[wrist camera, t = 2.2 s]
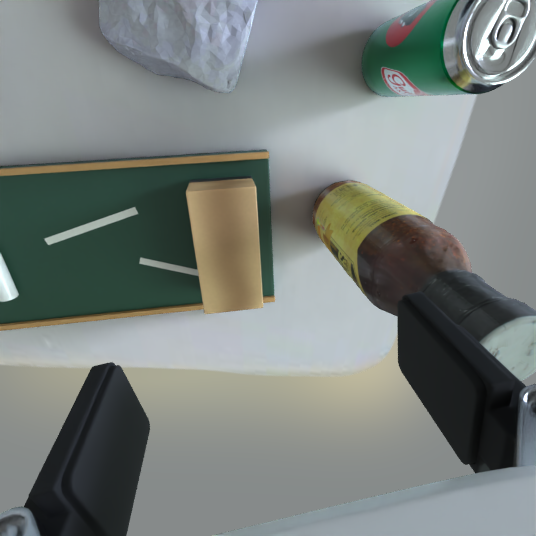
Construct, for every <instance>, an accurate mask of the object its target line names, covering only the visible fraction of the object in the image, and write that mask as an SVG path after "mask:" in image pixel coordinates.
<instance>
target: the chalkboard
mask: <svg viewBox="0 0 536 536" xmlns="http://www.w3.org/2000/svg"><path fill="white" fill-rule="evenodd" d="M238 176H251V177H252V179H253V181H254V184H255V186H256V193H257V210H258V226H259V243H260V260H261V276H262V293H263V303H267V302H275V296H274V278H273V254H272V230H271V206H270V182H269V152H268V151H267V150H251V151H236V152H220V153H204V154H188V155H172V156H157V157H141V158H125V159H109V160H94V161H78V162H62V163H46V164H31V165H15V166H0V252H1V254H2V256H3V259H4V261H5V263H6V266H7V268H8V270H9V272H10V275H11V277H12V279H13V282H14V284H15V286H16V288H17V291H18V293H19V295H18V296H17V297H16V298H14V299H12V300H9V301H5V302H0V331H2V330H12V329H21V328H31V327H40V326H50V325H59V324H68V323H78V322H87V321H97V320H106V319H116V318H125V317H134V316H144V315H153V314H163V313H172V312H182V311H191V310H201V309H204V307H203V301H202V294H201V288H200V281H199V275H198V269H197V262H196V256H195V249H194V243H193V236H192V230H191V223H190V217H189V211H188V204H187V198H186V190H187V187H188V184H189V181H190V180H197V179H211V178H225V177H238Z"/></svg>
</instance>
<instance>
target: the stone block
mask: <svg viewBox="0 0 536 536" xmlns="http://www.w3.org/2000/svg"><path fill="white" fill-rule="evenodd" d="M257 1H258V0H99V26H100V29H101V31H102V33H103V35H104V36H105V37H106V39H107V41H108V42H109V43H110V44H111V45H112V46H113V47H114V48H115V49H116V50H117V51H118V52H120V53H121V54H122V55H124V56H127V57H128V58H130V59H131V60H133V61H135V62H137V63H139V64H141V65H142V66H144V67H145V68H146V69H148V70H150V71H152V72H154V73H155V74H157V75H166V76H173V77H176V78H184V79H189V80H192V81H194V82H196V83H198V84H200V85H202V86H203V87H205V88H206V89H208V90H212V91H216V92H219V93H224V92H225V93H231V92H232V91H233V90H234V88H235V87H236V84H237V80H238V77H239V73H240V69H241V65H242V61H243V57H244V53H245V50H246V46H247V42H248V38H249V34H250V30H251V26H252V22H253V18H254V13H255V9H256V5H257Z"/></svg>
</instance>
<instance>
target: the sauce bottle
mask: <svg viewBox="0 0 536 536" xmlns="http://www.w3.org/2000/svg"><path fill="white" fill-rule="evenodd" d="M312 214H313V216H312V217H313V224H314V227H315V229H316V231H317V234H318V236H319V238H320V239H321V240H322V242H323V243H324V244H325V245H326V247H327V248H328V249H329V250H330V252H331V253H332V254H333V255H334V257H335V258H336V260H337V261H338V262H339V263H340V264H341V266H342V267H343V268H344V270H345V271H346V272H347V274H348V275H349V276H350V277H351V278H352V279H353V281H354V282H355V283H356V285H357V286H358V287H359V288H360V289H361V291H362V292H363V294H365V296H366V297H367V298H368V299H369V300H370V301H371V302H372V303H373V304H374V305H375V306H376V307H378V308H379V309H381V310H384V311H386V312H388V313H391V314H393V315H395V316H398V310H397V304H398V301H400V300H402V297H403V296H404V295H407V294H411V293H416V292H422V293H424V294H425V295H426V296H427V297H428V298H429V299H430V300H431V301H432V302H433V303H434V304H435V305H436V306H437V307H438V308H440V309H441V310H442V311H443V312H444V313H445V314H446V315H447V316H448V317H449V318H450V319H451V320H452V321H453V322H454V323H455V324H456V325H460V326H462V327H463V328H464V329H466V330H467V331H468V332H469V333H470V334H471V335H472V336H473V337H474V338H475V339H476V340H477V341H478V342H479V343H481V344H482V345H483V346H484V347H485V348H486V349H487V350H488V351H489V352H490V353H491V354H492V355H493V356H494V357H495V358H497V359H498V360H499V361H500V362H501V363H502V364H503V365H504V366H505V367H506V368H507V369H508V370H509V371H510V372H511V373H513V374H514V375H515V376H516V377H517V378H518V379H519V380H520V381H521V380H523V379H525V378H527V377H529V376H530V375H532V374H533V373H534V372H535V371H536V311H535V310H534V309H532V308H530V307H529V306H528V305H527V304H525V303H523V302H520V301H518V300H516V299H511V298H507V297H505V296H504V295H502V294H501V293H500V292H498V291H496V290H495V289H494V288H492V287H491V286H489V285H488V284H486V283H485V281H484V280H483V279H482V278H481V277H480V276H478V275H476V274H474V273H472V270H471V264H470V260H469V257H468V255H467V252H466V251H465V249H464V247H463V246H462V244H461V243H460V242H459V241H458V240H457V238H455V237H454V236H453V235H451V234H450V233H448V232H447V231H446V230H444V229H442V228H439V227H437V226H435V225H434V224H433V223H432V222H431V221H430V220H428V219H427V218H425V217H424V216H422V215H420V214H418V213H417V212H415V211H413V210H411V209H409V208H407V207H406V206H404V205H402V204H400V203H398V202H397V201H395V200H393V199H391V198H389V197H388V196H386V195H384V194H382V193H381V192H379V191H377V190H375V189H373V188H371V187H370V186H368V185H365V184H362V183H360V182H356V181H348V180H347V181H342V182H337V183H334V184H332V185H330V186H329V187H327V188H326V189H325V190H324V191H323V192H322V193H321V194H320V195H319V197H318V199H317V200H316V202H315V204H314V207H313V213H312Z"/></svg>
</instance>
